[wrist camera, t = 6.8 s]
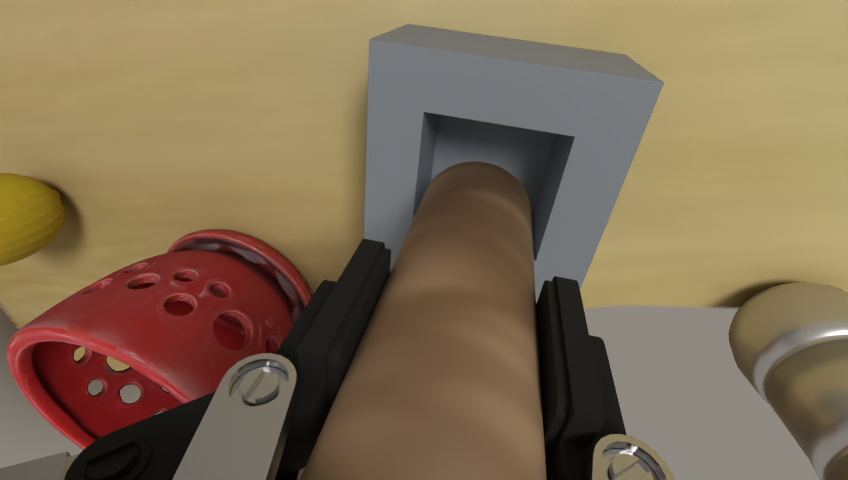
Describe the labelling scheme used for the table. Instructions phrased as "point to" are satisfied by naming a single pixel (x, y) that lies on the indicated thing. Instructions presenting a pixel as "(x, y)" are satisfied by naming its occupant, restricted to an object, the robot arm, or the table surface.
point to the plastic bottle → (800, 365)
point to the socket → (504, 132)
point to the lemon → (27, 216)
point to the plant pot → (156, 332)
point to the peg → (447, 348)
